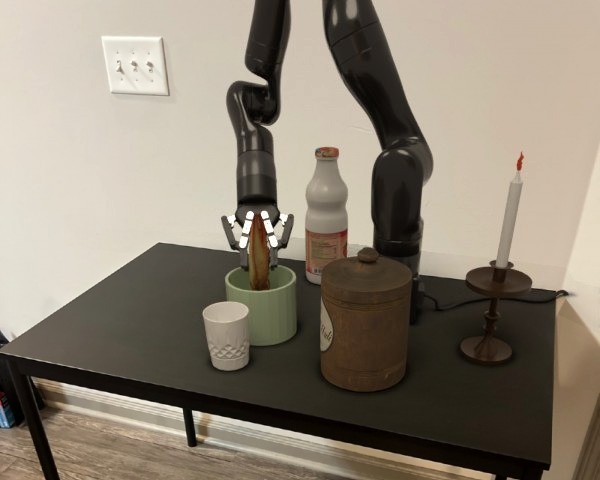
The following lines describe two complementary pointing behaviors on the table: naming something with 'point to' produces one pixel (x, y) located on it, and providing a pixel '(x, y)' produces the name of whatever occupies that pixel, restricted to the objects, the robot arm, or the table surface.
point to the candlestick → (497, 286)
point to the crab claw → (258, 256)
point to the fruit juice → (325, 215)
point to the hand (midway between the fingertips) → (259, 269)
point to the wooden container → (364, 321)
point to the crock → (266, 305)
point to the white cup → (227, 334)
